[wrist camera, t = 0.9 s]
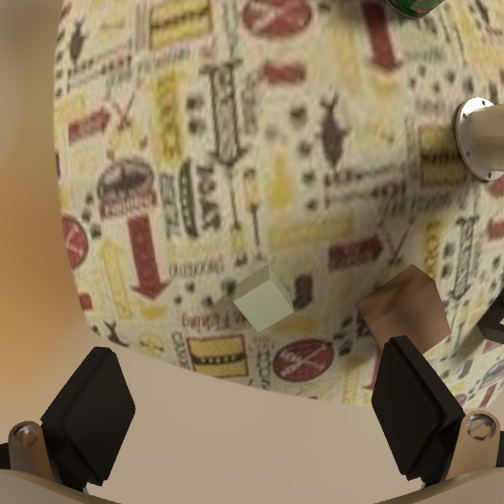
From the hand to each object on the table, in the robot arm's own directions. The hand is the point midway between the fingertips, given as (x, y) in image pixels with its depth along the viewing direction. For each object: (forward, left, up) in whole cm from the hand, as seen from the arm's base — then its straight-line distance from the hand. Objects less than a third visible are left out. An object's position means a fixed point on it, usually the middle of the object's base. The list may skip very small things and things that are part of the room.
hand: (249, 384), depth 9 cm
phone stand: (-28, +37, -28) cm, 54 cm away
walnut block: (-10, +21, -27) cm, 36 cm away
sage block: (+4, +7, -27) cm, 29 cm away
